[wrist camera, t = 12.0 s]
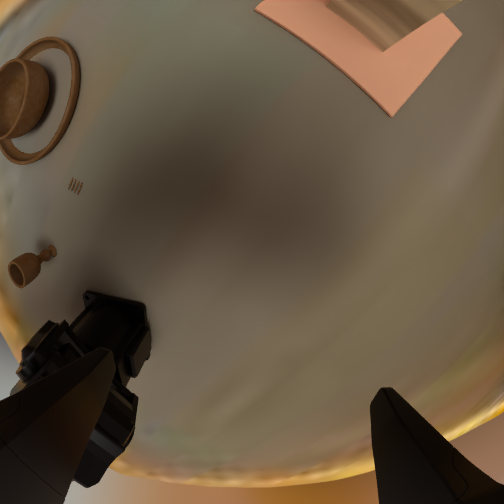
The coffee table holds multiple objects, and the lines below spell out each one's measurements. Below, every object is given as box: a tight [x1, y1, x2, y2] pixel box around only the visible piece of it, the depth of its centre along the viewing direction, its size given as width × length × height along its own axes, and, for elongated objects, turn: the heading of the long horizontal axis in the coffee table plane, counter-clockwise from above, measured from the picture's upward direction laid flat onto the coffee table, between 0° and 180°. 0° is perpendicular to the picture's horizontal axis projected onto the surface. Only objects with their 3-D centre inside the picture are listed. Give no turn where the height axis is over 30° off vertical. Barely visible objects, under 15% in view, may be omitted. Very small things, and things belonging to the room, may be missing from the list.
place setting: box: [0, 37, 83, 288], centre depth 16 cm, size 18×20×6 cm
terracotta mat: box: [255, 0, 462, 117], centre depth 13 cm, size 12×12×1 cm
